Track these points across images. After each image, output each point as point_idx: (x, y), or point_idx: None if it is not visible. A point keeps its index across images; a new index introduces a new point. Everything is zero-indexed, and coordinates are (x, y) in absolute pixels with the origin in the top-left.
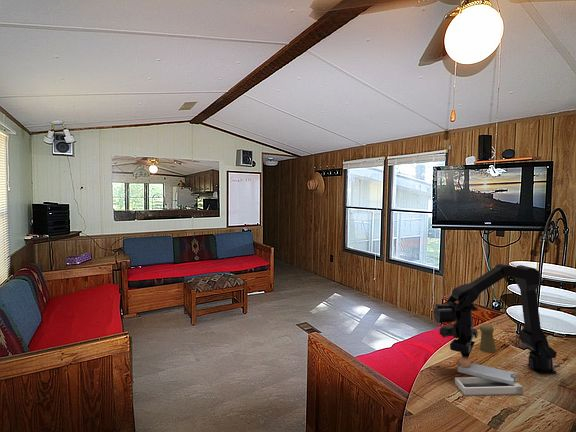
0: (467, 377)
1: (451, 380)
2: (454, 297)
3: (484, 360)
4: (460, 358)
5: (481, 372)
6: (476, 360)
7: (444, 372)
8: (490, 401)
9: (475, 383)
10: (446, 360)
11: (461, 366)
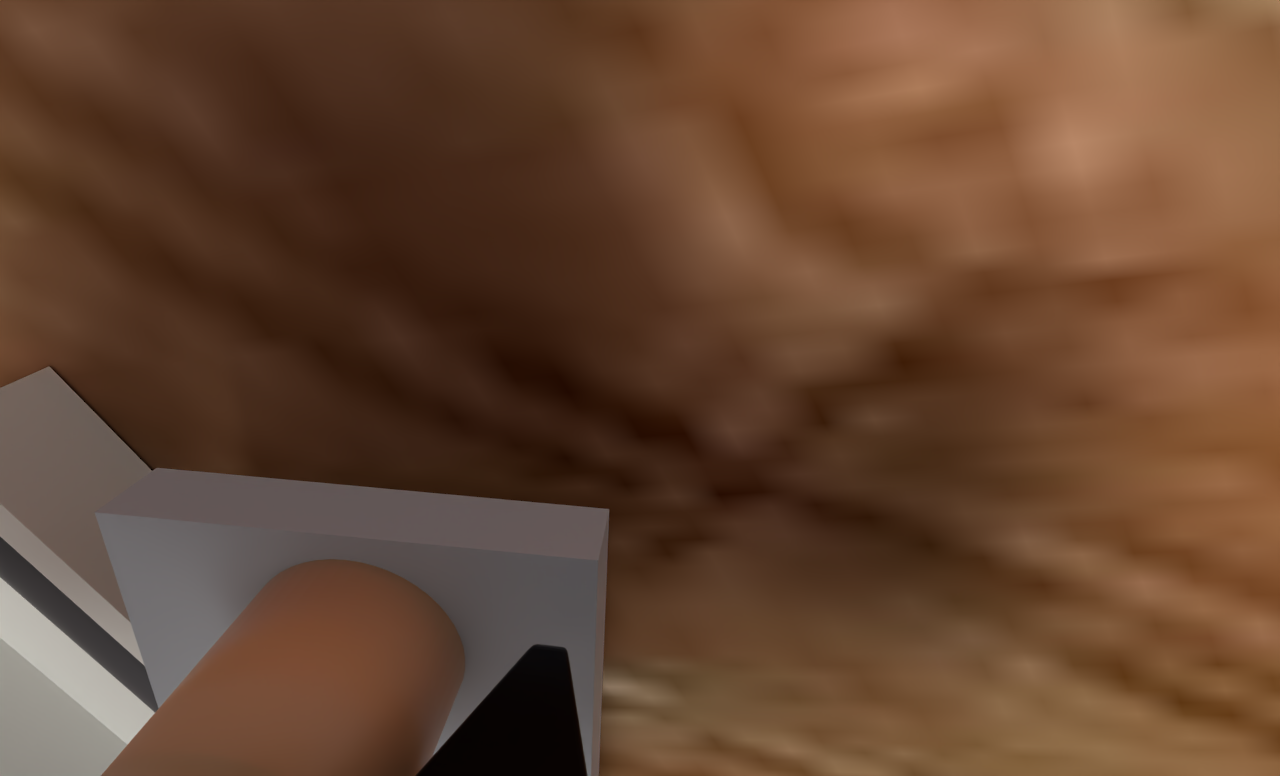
0: (116, 615)
1: (134, 286)
2: None
3: (1265, 719)
4: (153, 740)
5: None
6: (1239, 614)
7: (363, 93)
8: None
9: (126, 679)
10: (1085, 9)
11: (268, 577)
